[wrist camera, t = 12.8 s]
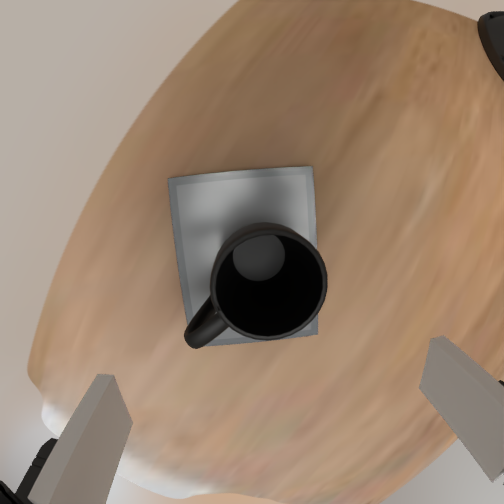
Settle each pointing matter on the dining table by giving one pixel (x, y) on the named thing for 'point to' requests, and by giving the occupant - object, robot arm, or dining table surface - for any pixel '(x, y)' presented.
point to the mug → (261, 286)
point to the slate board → (234, 224)
